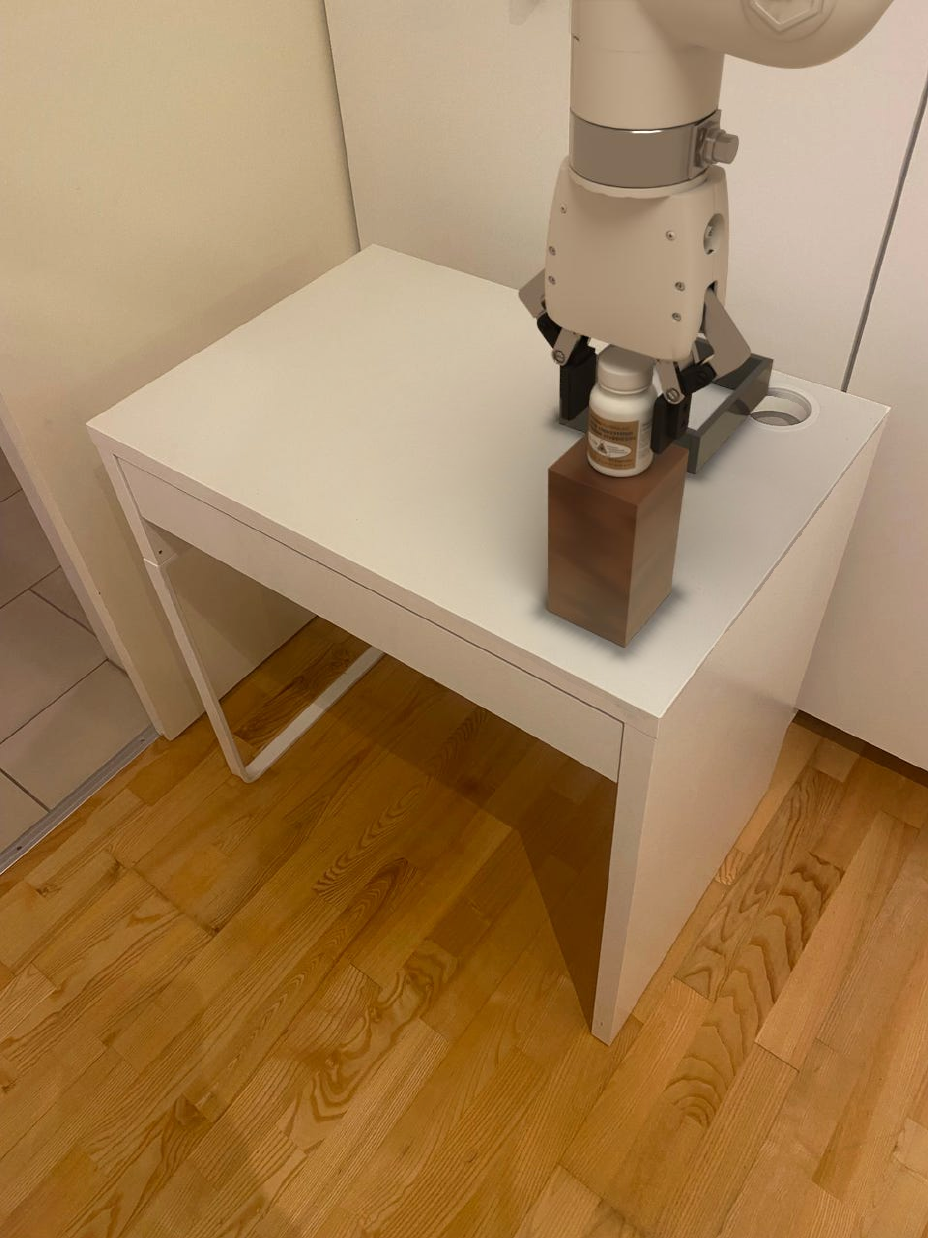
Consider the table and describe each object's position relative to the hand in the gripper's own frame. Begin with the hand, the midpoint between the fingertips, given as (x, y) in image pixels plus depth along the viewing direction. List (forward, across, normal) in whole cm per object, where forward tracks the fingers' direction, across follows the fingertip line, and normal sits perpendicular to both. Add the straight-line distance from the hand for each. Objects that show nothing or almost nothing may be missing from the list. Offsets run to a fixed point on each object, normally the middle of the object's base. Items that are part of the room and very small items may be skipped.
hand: (621, 423), depth 63 cm
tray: (+17, +9, -25) cm, 32 cm away
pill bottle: (+3, 0, 0) cm, 3 cm away
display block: (+17, 0, 0) cm, 17 cm away
